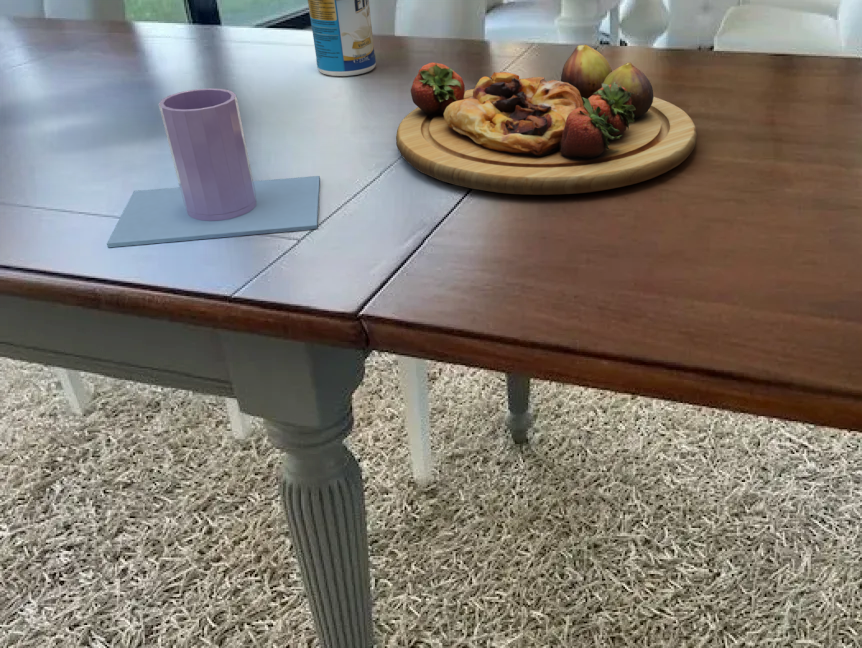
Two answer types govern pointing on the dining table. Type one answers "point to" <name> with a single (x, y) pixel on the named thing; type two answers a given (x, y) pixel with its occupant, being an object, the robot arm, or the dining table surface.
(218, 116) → the cup
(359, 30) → the beverage bottle
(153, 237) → the light blue flat slab
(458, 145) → the wooden plate
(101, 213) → the dining table surface
